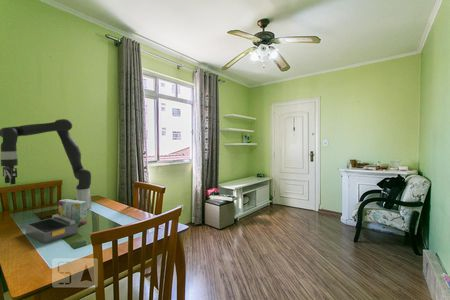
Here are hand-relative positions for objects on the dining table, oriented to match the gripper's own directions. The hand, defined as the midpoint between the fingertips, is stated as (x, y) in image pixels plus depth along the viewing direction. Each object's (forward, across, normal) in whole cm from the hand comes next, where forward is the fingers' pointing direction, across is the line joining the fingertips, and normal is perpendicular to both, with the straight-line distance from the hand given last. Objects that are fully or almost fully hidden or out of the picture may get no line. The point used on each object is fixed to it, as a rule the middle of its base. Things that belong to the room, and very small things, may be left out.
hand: (10, 183), depth 134 cm
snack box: (+29, -25, -23) cm, 45 cm away
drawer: (+29, -33, -8) cm, 45 cm away
